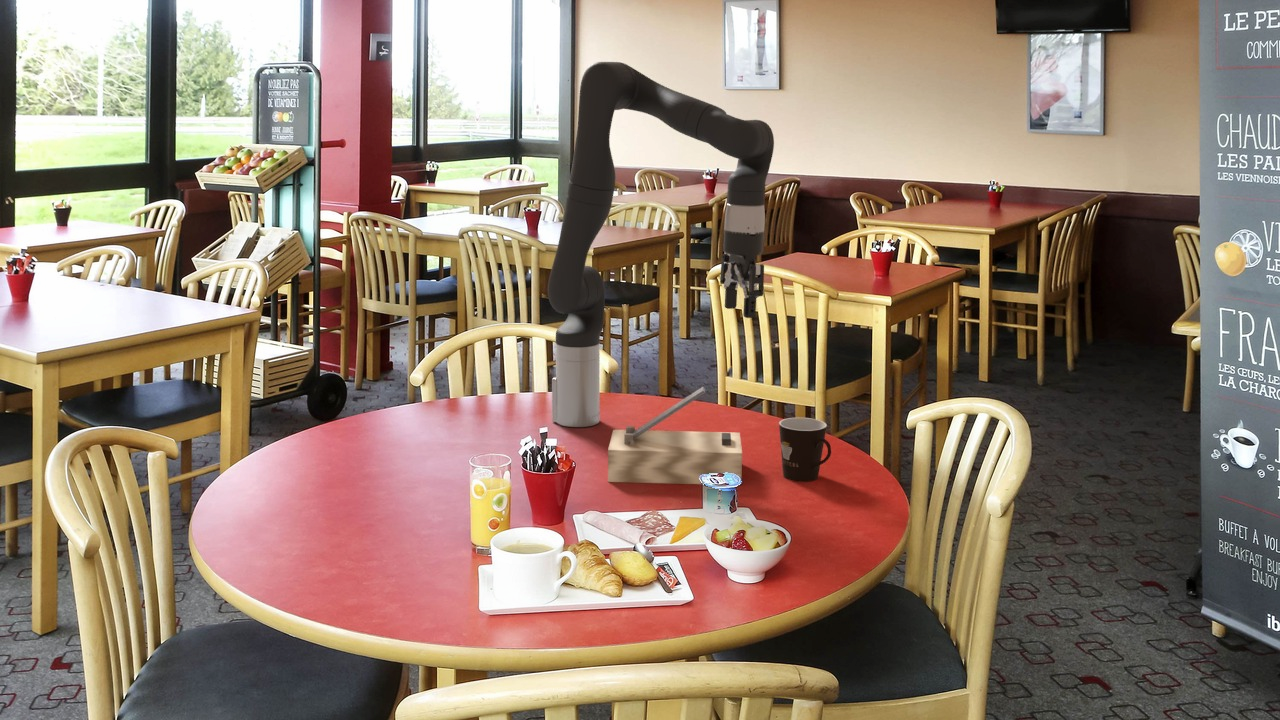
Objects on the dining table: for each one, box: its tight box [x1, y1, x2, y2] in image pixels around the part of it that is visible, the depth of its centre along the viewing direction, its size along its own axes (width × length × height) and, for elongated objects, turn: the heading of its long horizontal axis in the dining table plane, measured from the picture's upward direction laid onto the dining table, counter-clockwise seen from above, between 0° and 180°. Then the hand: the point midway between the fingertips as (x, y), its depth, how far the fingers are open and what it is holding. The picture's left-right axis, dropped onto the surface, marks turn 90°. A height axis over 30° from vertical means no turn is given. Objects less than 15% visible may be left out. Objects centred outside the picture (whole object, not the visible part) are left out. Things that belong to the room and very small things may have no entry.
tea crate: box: [607, 425, 743, 485], centre depth 213 cm, size 24×13×8 cm, turn 87°
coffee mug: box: [778, 417, 832, 483], centre depth 210 cm, size 12×9×10 cm
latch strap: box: [632, 386, 706, 439], centre depth 212 cm, size 16×3×1 cm
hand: (739, 312), depth 221 cm, fingers open, 8 cm apart
